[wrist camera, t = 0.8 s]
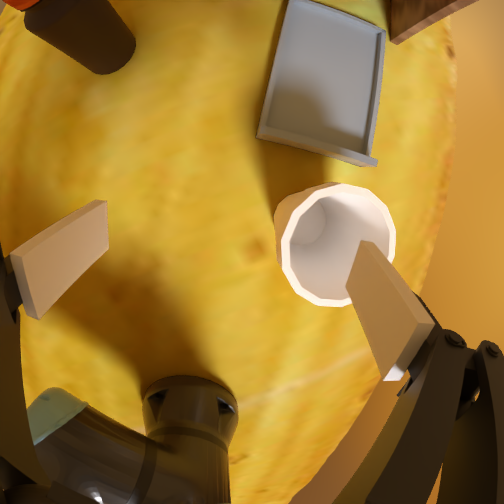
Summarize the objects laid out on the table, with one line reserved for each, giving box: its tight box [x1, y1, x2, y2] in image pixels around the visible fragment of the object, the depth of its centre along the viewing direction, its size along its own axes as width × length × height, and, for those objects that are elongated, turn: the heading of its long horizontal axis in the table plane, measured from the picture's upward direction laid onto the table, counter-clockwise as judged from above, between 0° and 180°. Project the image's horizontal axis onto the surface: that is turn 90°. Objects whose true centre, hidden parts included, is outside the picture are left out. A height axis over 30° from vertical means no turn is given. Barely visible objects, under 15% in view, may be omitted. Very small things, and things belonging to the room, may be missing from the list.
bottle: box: [3, 0, 136, 75], centre depth 15 cm, size 7×7×20 cm
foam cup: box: [274, 182, 396, 307], centre depth 26 cm, size 10×9×13 cm
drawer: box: [256, 0, 386, 167], centre depth 26 cm, size 20×13×4 cm, turn 168°
